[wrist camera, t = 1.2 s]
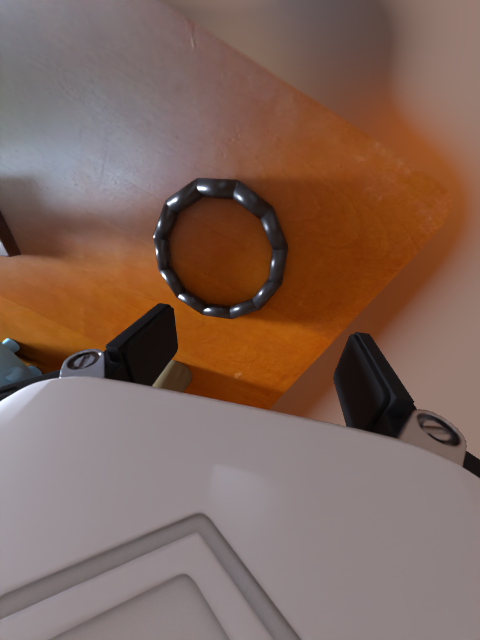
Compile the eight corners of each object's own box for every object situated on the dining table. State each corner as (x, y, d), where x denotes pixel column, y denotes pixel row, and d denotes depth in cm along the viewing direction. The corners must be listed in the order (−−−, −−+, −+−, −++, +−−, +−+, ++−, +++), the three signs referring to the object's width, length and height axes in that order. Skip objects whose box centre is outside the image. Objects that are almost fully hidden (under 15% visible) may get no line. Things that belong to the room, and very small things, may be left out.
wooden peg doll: (160, 356, 34) (113, 413, 25) (193, 366, 34) (160, 429, 25) (159, 379, 37) (118, 438, 28) (190, 389, 37) (159, 452, 28)
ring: (149, 175, 21) (140, 174, 20) (298, 183, 19) (299, 182, 18) (168, 306, 29) (162, 311, 27) (275, 321, 27) (274, 327, 25)
